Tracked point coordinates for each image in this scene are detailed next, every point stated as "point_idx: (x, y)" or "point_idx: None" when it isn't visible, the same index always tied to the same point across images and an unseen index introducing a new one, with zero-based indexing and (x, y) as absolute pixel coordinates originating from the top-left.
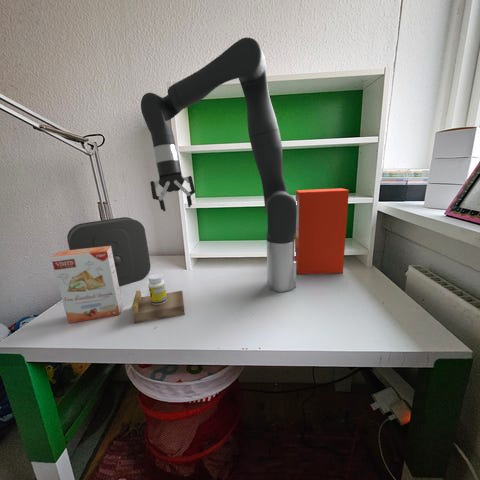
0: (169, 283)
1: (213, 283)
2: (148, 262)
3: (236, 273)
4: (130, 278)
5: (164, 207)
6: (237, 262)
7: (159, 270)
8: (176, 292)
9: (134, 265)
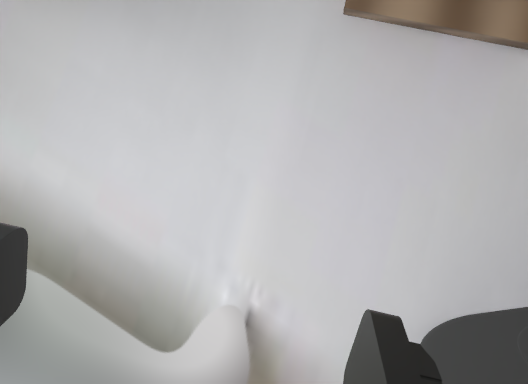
0: (356, 202)
1: (183, 88)
2: None
3: (59, 131)
4: (521, 319)
5: (380, 336)
6: None
7: None
8: (373, 2)
9: (513, 357)
